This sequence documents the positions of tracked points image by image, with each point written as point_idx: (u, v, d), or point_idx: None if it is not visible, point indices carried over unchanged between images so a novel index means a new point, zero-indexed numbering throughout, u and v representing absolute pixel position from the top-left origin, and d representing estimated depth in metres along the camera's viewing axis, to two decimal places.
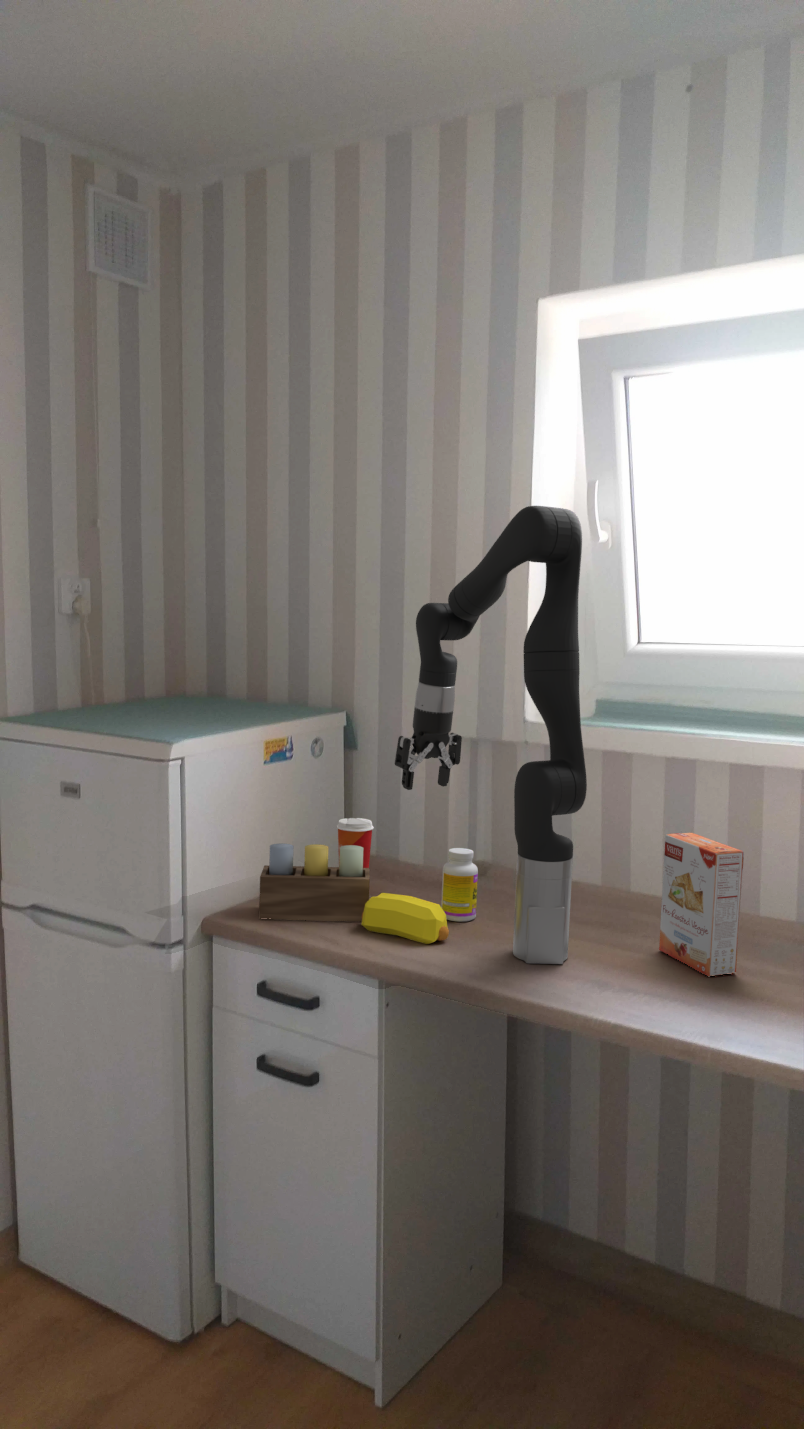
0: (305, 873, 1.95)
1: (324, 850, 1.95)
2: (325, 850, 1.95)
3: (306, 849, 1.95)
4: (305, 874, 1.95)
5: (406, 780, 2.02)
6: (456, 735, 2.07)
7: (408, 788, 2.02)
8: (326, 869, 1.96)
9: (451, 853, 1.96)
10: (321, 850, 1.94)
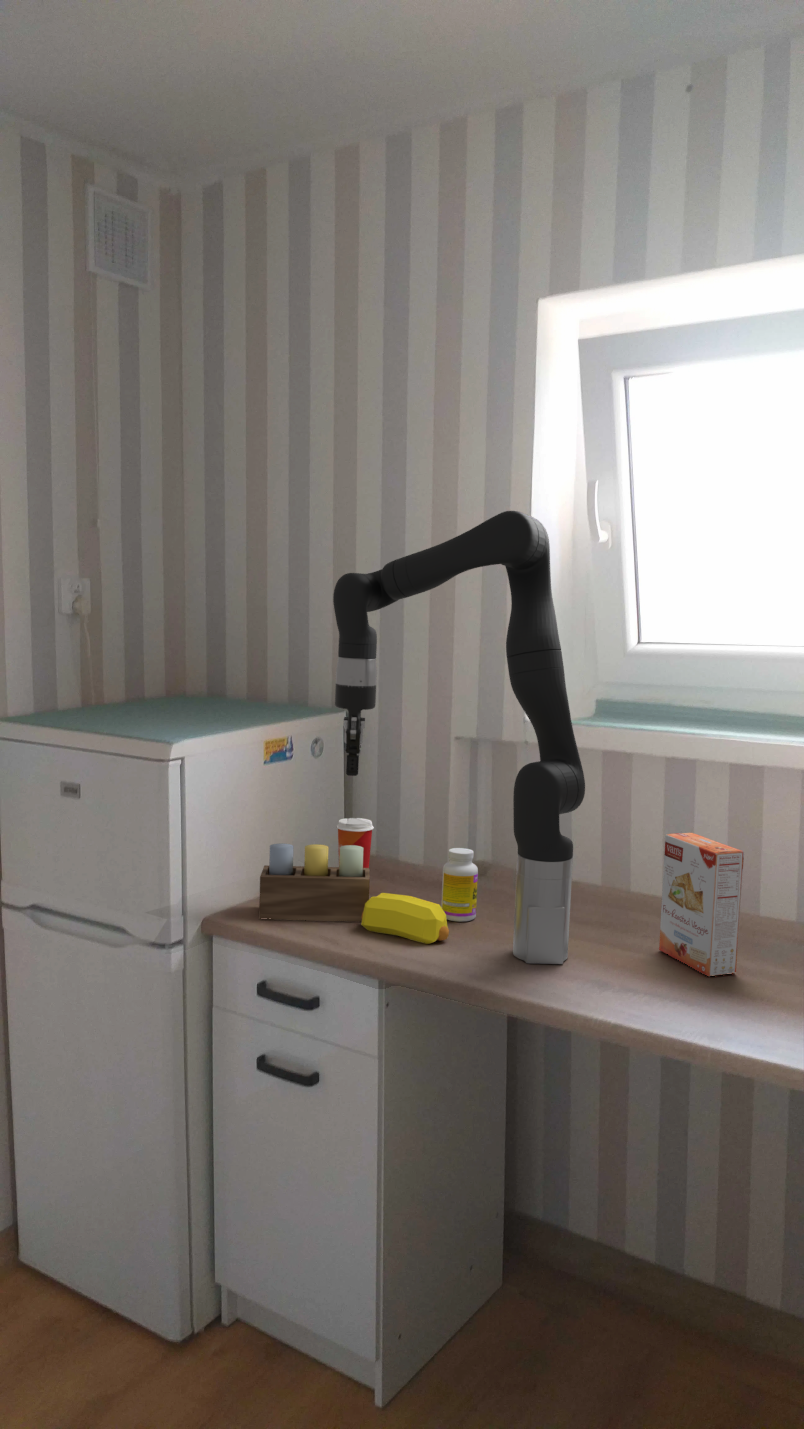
0: (305, 873, 1.95)
1: (324, 850, 1.95)
2: (325, 850, 1.95)
3: (306, 849, 1.95)
4: (305, 874, 1.95)
5: (355, 766, 1.95)
6: None
7: (356, 774, 1.95)
8: (326, 869, 1.96)
9: (451, 853, 1.96)
10: (321, 850, 1.94)
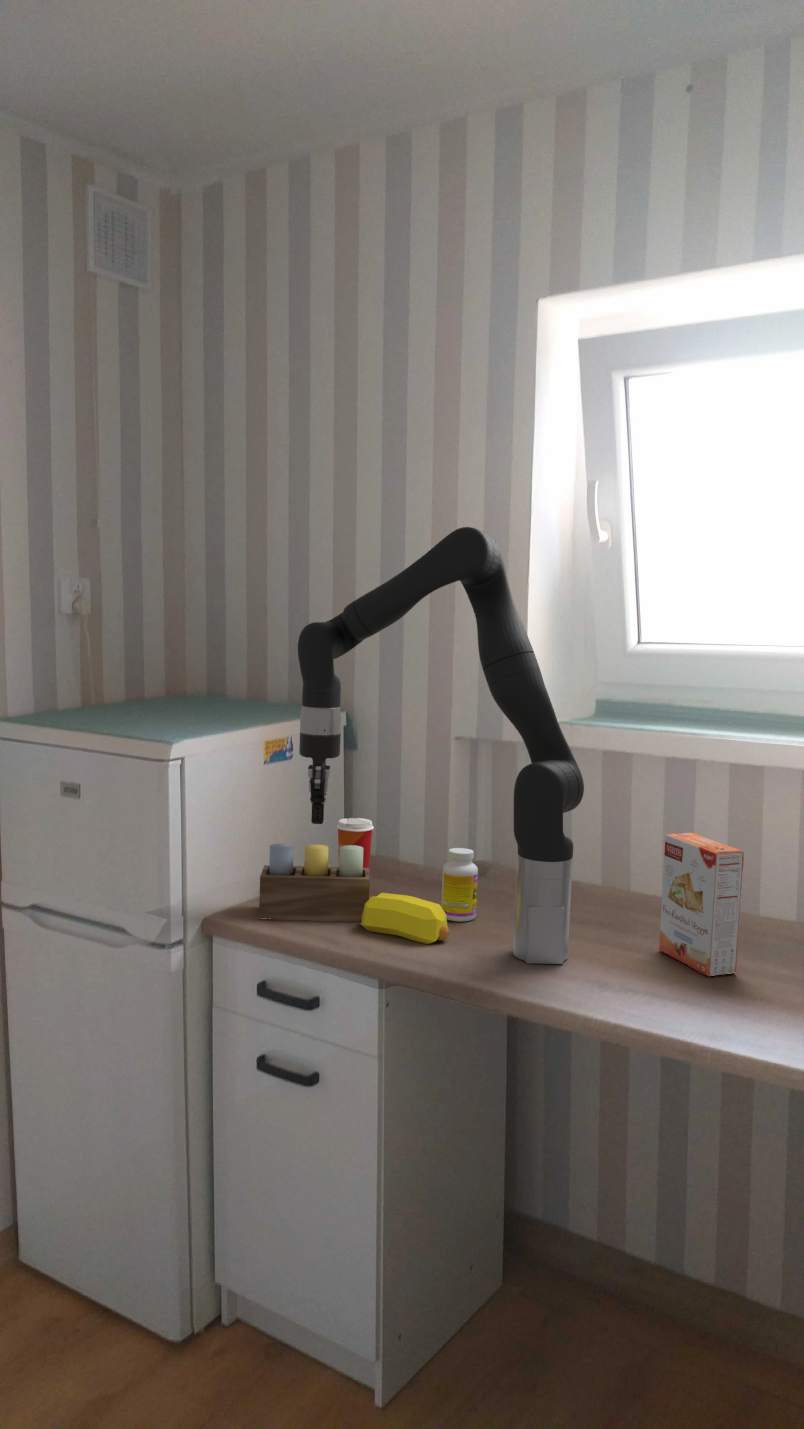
0: (305, 873, 1.95)
1: (324, 850, 1.95)
2: (325, 850, 1.95)
3: (306, 849, 1.95)
4: (305, 874, 1.95)
5: (320, 814, 1.94)
6: None
7: (321, 822, 1.95)
8: (326, 869, 1.96)
9: (451, 853, 1.96)
10: (321, 850, 1.94)
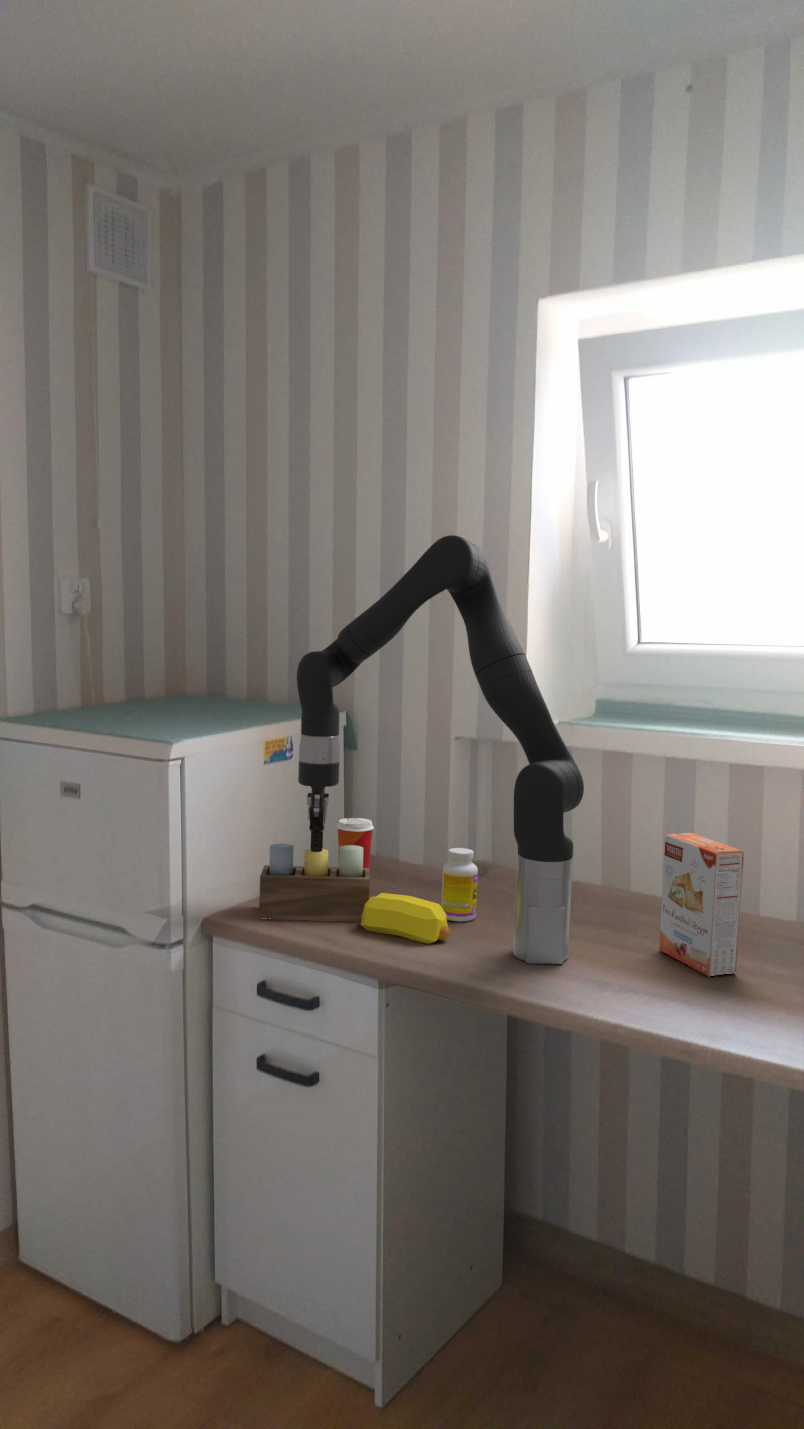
0: None
1: (324, 854, 1.95)
2: (325, 854, 1.95)
3: (306, 853, 1.95)
4: None
5: (319, 842, 1.95)
6: None
7: (320, 850, 1.95)
8: (326, 873, 1.96)
9: (451, 853, 1.96)
10: (321, 854, 1.94)
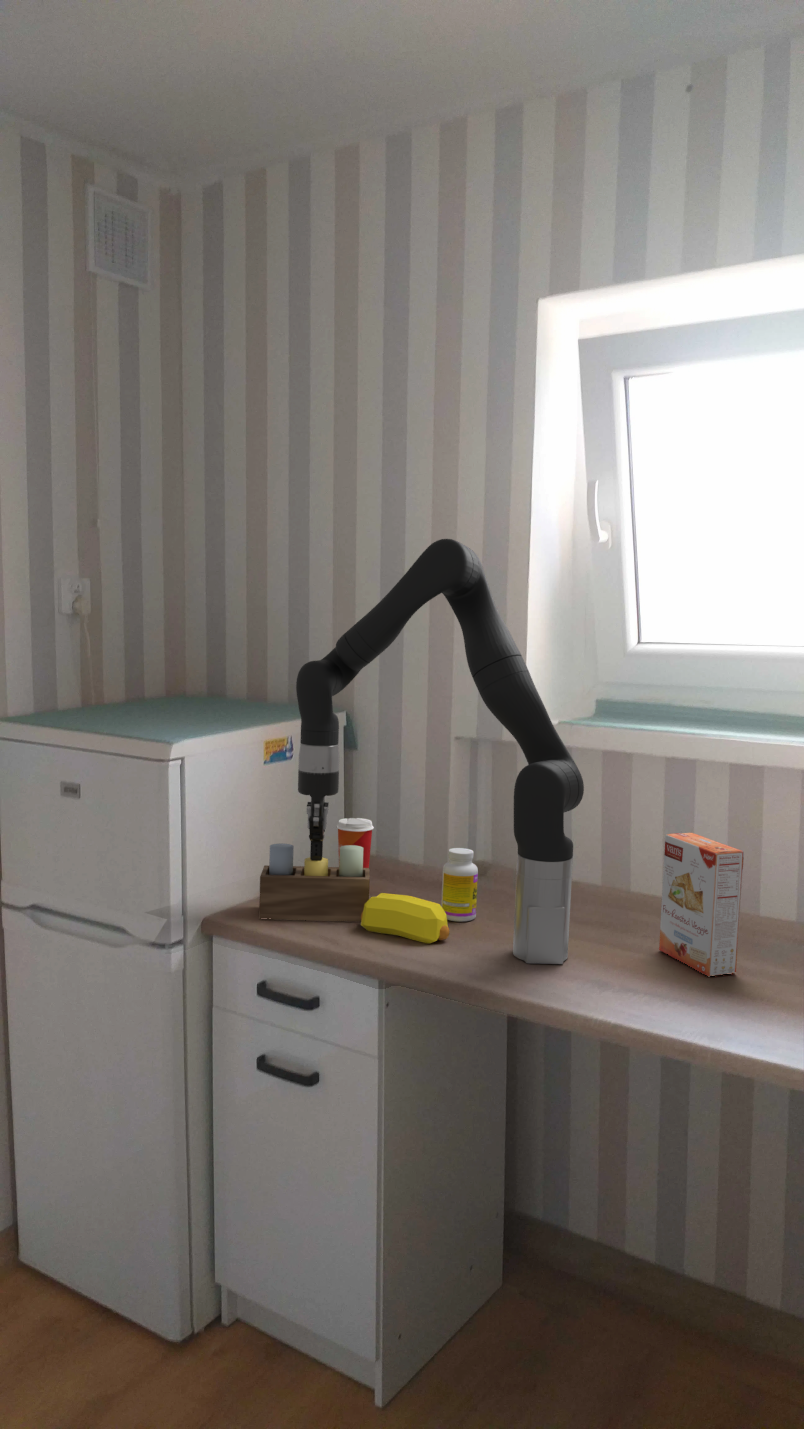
0: None
1: (324, 863, 1.95)
2: (325, 863, 1.95)
3: (306, 862, 1.95)
4: None
5: (319, 851, 1.95)
6: None
7: (320, 859, 1.96)
8: None
9: (451, 853, 1.96)
10: (321, 863, 1.94)
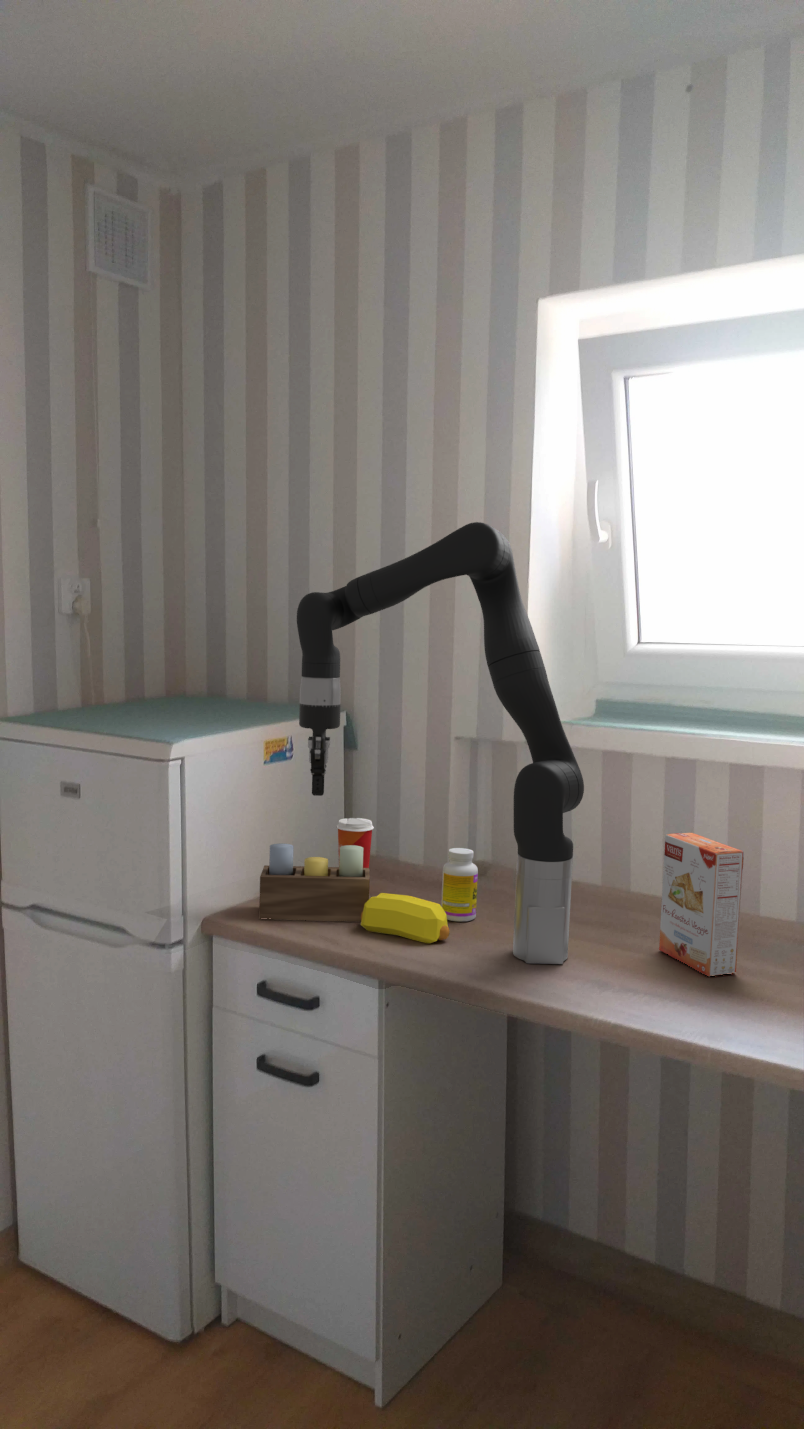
0: None
1: (324, 863, 1.95)
2: (325, 863, 1.95)
3: (306, 862, 1.95)
4: None
5: (321, 785, 1.94)
6: None
7: (321, 793, 1.94)
8: None
9: (451, 853, 1.96)
10: (321, 863, 1.94)
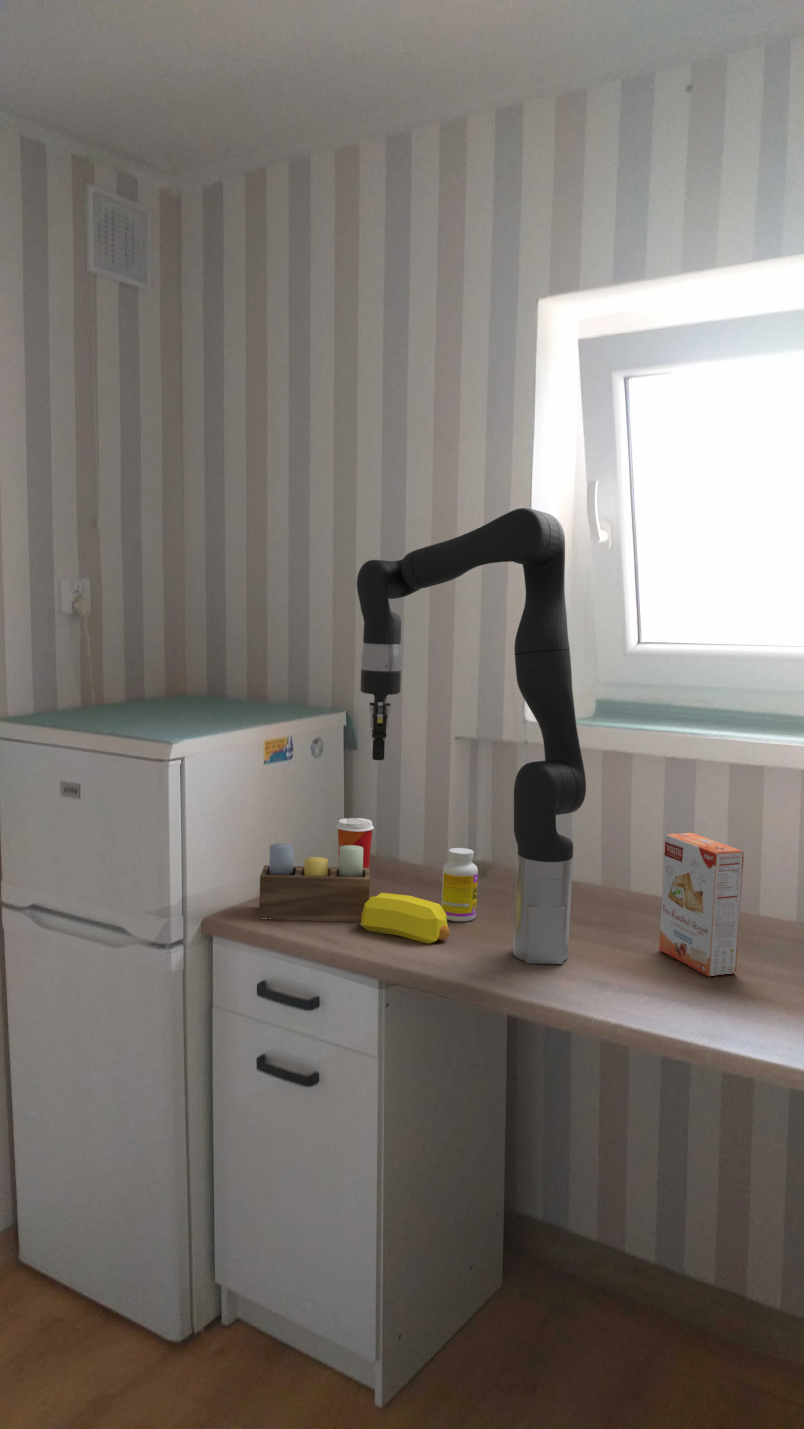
0: None
1: (324, 863, 1.95)
2: (325, 863, 1.95)
3: (306, 862, 1.95)
4: None
5: (381, 750, 1.97)
6: None
7: (382, 758, 1.98)
8: None
9: (451, 853, 1.96)
10: (321, 863, 1.94)
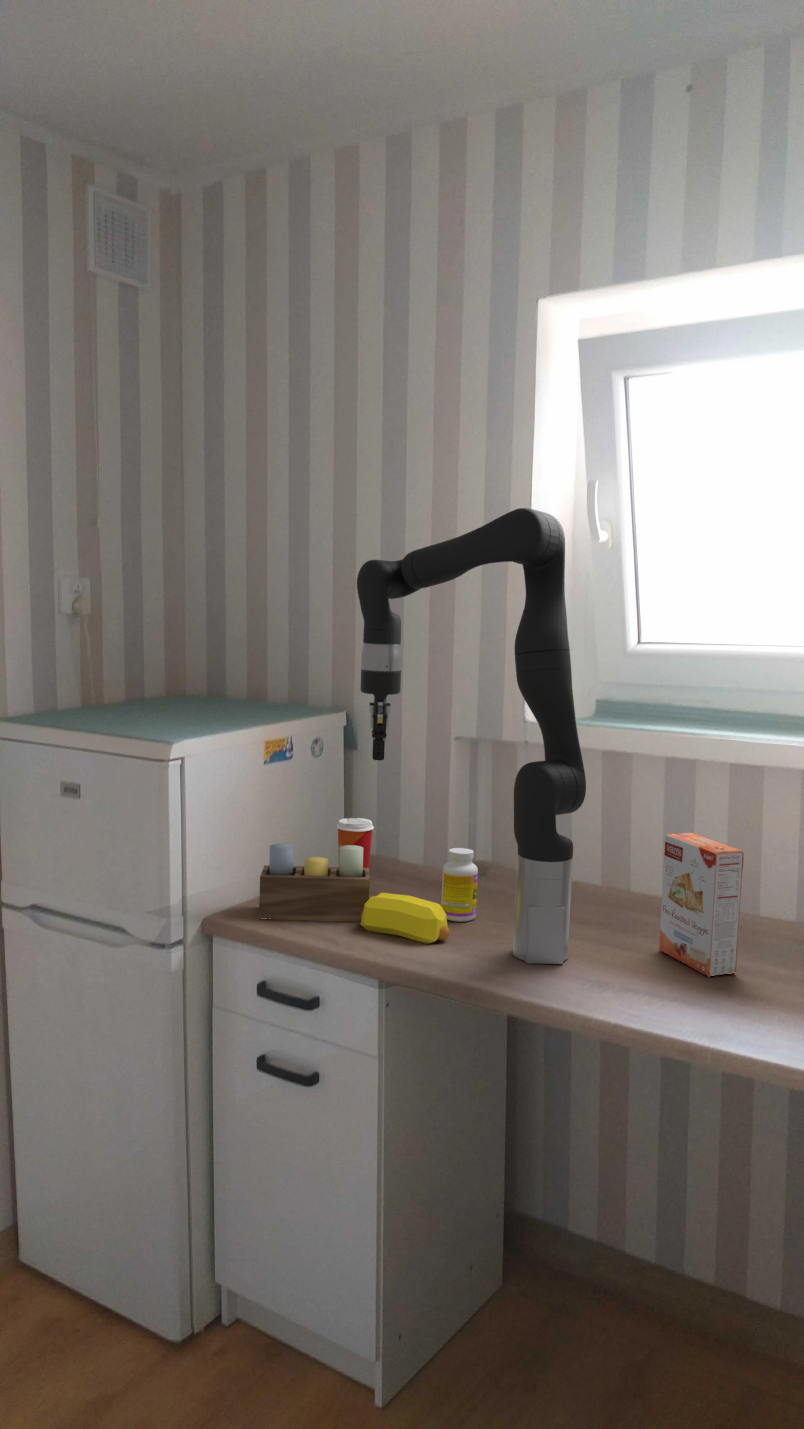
0: None
1: (324, 863, 1.95)
2: (325, 863, 1.95)
3: (306, 862, 1.95)
4: None
5: (381, 750, 1.97)
6: None
7: (382, 758, 1.98)
8: None
9: (451, 853, 1.96)
10: (321, 863, 1.94)
